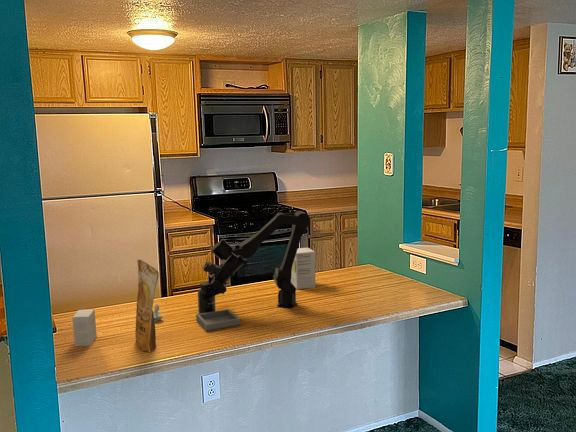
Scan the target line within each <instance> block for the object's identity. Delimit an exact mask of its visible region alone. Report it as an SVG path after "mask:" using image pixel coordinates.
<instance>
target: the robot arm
mask: <svg viewBox="0 0 576 432" xmlns="http://www.w3.org/2000/svg"><path fill="white" fill-rule="evenodd" d="M310 222H311V217H310V216H309V214H307V213H306V212H304V211H302V210H299V211H296V212H288V213H287V212H277V213H276V214H275V216H274V217H272V218H271V219H270V220H269V221H268V222H267V223H266V224H265V225H264V226H262V227H261V229H259V230H258V231H257V233H255V234H254V235H253V236H250V237H248V238H246V239H245V240H243V241H242V242H240V244H236V245H231V244H229V243H228V242H227V241H226V240H225V239H224V238H222V239H221V240H219V241H218V242H216V243H215V244H214V245H213V246H212V247H211V249H210V252H211V253H212V254H213V255H214V256H216V257H217V258H218V260H221V261H223V260H224V262H223V263H220V264H219V265H217V264H215V263H213V262H210V261H205V262H204V264H203V268H202V270H203V272H205V273H207V274H208V275H207V280H208V281H207V282H210V288H209V289H208V291H207V292H206V294H205V295H204V297H203V300H206V299H208V298H211V297H213V296H215V297H216V296H217V295H224V294H225V293H226V292H227V282H228V281H229V280H230V278H234V276H235V275H234V274H235V273H236V272H237V271H238V270H239V269H240V268H241V267H242V266H245V267H246V268H248V262H249V261H248V259H250V258H252V257H253V256H254V255H255V254H256V252H257V251H258V249H259V248H260V246H261V245H262V243H263V242H264V241H266V239H268V238H269V237H270V236H271V235H273V233H274V232H275V231H277V230H278V229H279V228H280V227H281V226H282V225H291V234H290V237H289V240H288V243H287V247H286V250H285V252H284V257H283V260H282V262H281V264H280V266H279V267H275V270H274V274H273V275H272V277H273V282H274V283H275V285H276V287H277V288H278V289H280V290H278V293H277V305H276V307H280V308H287V309H293V308H294V307H295V306H297V305H298V303H299V302H297V297H296V296H297V294H296V290H297V289H296V288H295V286H294V285H293V284H292V282H291V276H292V266H293V262H294V259H295V256H296V253H297V250H298V248H299V246H300V243H301V239H302V236H303V235H304V233H305V232H306V230H307V229H308V227H309V225H310V224H311V223H310Z"/></svg>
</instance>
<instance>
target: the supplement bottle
mask: <svg viewBox="0 0 576 432" xmlns="http://www.w3.org/2000/svg"><path fill="white" fill-rule="evenodd" d="M209 288H210V282H208V281H203V282H200V283H199V290H198V291H197V310H198V314H201V313H207V312H213V311H217V310H216V295H215V296H213V297H211V298H208V299H206V300H203V297H204V295H205V294H206V292H207V291H208V289H209Z"/></svg>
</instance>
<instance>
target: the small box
mask: <svg viewBox="0 0 576 432" xmlns="http://www.w3.org/2000/svg"><path fill="white" fill-rule="evenodd" d="M72 329H73V330H72V331H73V341H74V346H75V347H88V346H89V347H90V346H92V344H93V343H94V341H95V340H96V339H97V337H98V335H97V323H96V310H95V309H94V308H93V309H78V310H77V311H76V312H75V314H74V315H73V316H72Z"/></svg>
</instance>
